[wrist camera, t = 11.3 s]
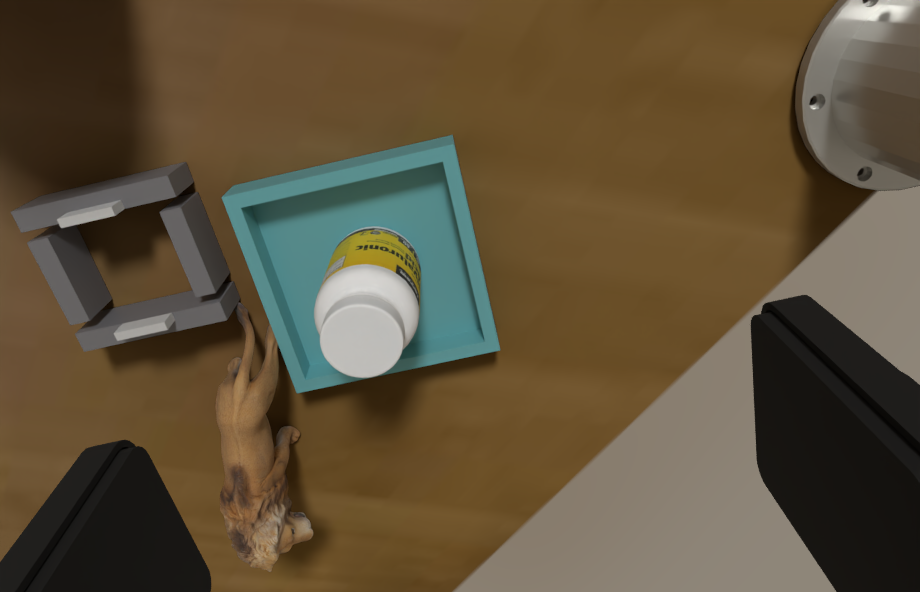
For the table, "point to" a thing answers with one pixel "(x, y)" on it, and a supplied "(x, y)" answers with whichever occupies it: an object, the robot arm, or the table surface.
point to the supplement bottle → (368, 302)
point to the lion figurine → (256, 459)
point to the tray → (351, 208)
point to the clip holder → (82, 282)
